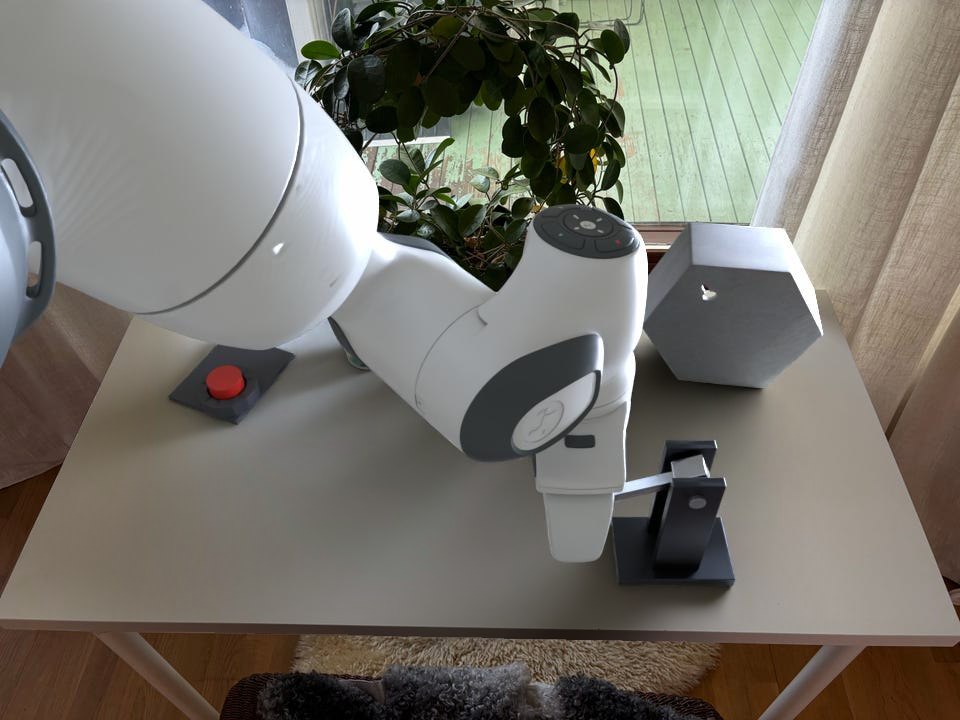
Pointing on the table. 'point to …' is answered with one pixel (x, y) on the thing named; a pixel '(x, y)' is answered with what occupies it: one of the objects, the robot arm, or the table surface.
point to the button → (225, 382)
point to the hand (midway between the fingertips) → (564, 493)
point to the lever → (665, 478)
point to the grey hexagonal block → (730, 305)
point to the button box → (255, 371)
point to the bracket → (677, 529)
